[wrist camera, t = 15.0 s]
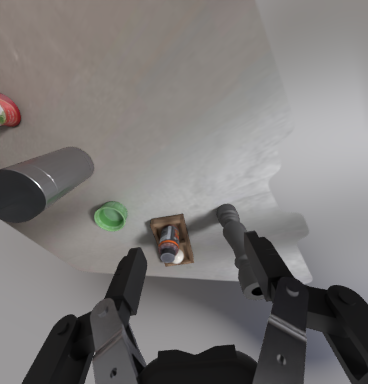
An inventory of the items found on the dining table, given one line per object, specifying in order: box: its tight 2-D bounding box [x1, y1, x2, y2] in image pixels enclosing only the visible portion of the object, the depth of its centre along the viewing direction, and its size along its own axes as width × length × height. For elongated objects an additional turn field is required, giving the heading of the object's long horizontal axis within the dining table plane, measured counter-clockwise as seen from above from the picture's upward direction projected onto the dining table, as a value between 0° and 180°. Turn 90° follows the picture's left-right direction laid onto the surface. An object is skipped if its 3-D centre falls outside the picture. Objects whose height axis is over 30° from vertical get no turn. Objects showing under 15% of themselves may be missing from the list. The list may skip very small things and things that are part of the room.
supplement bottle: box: [158, 224, 179, 263], centre depth 48 cm, size 6×6×11 cm
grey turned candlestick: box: [217, 204, 265, 300], centre depth 40 cm, size 6×6×25 cm
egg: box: [172, 249, 184, 264], centre depth 55 cm, size 5×5×5 cm
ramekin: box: [94, 201, 127, 231], centre depth 49 cm, size 9×9×4 cm
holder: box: [150, 214, 194, 266], centre depth 55 cm, size 10×20×3 cm, turn 11°
